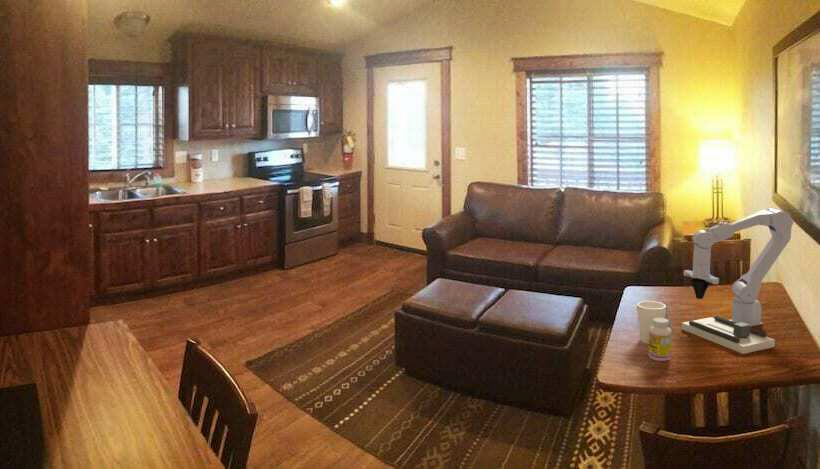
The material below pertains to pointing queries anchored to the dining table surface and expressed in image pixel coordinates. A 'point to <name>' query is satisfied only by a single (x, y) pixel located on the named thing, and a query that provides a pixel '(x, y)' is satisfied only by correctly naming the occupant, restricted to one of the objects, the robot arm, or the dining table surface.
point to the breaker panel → (745, 343)
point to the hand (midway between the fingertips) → (699, 298)
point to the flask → (667, 316)
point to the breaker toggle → (741, 330)
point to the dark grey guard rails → (725, 333)
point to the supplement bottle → (660, 340)
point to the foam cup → (648, 316)
